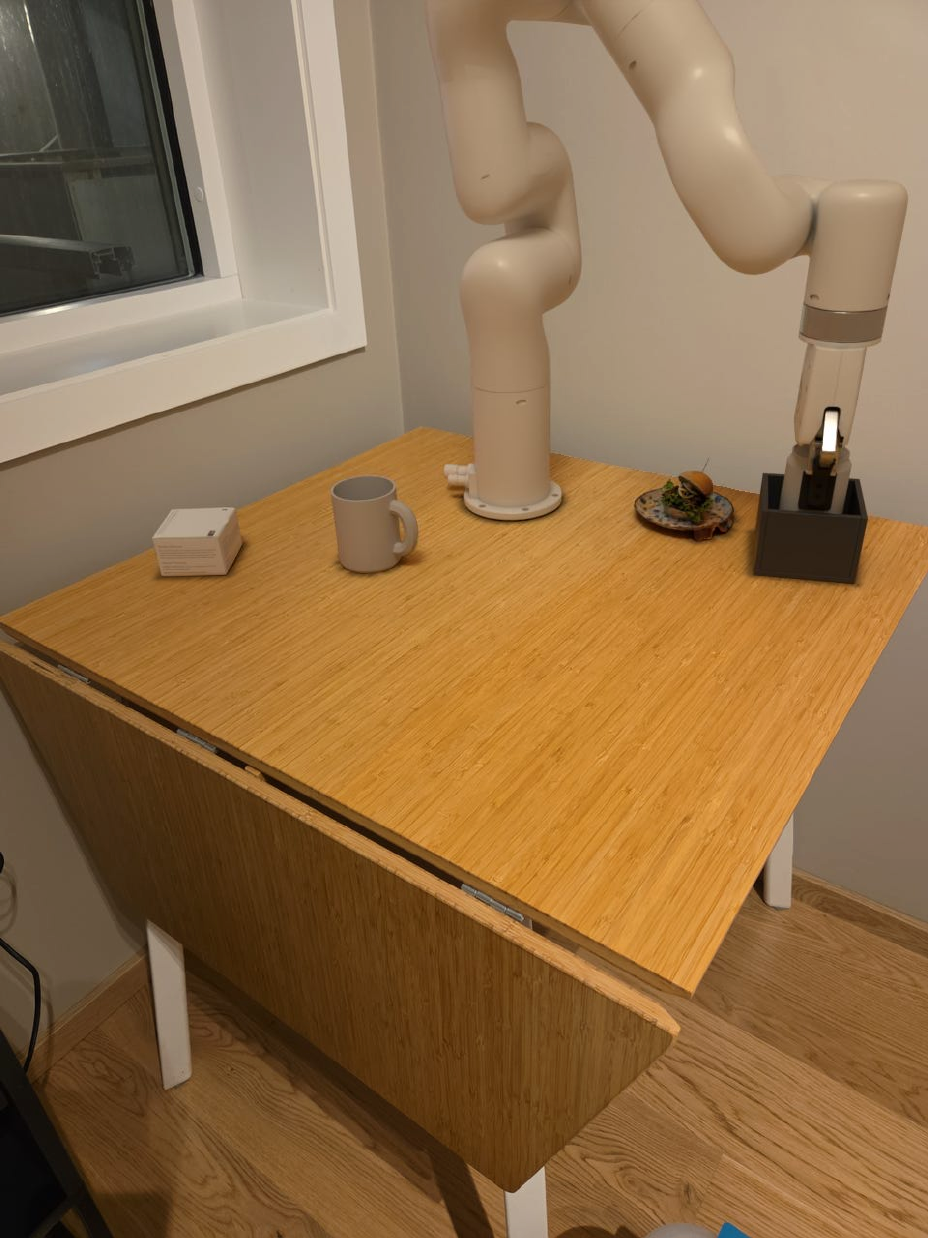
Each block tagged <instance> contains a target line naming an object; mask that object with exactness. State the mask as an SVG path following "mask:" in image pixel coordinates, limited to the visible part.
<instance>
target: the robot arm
mask: <svg viewBox="0 0 928 1238" xmlns="http://www.w3.org/2000/svg"><path fill="white" fill-rule="evenodd" d="M424 5H425V7H424V9H425V10H424V11H425V12H424V13H425V25H426V33H427V38H428V43H429V48H430V53H431V57H432V61H433V66H434V70H435V71H434V72H435V75H436V80H437V84H438V91H439V97H440V103H441V110H442V119H443V124H444V125H443V126H444V131H445V137H446V143H447V150H448V155H449V163H450V168H451V173H452V181H453V186H454V192H455V196H456V198H457V202H458V204H459V207H460V209H461V211H462V212H463V213H464V215H465V216H466V217H467V218H468V219H469V220H470V221H472V222H473V223H476V224H479V225H483V226H497V225H502V224H503V226H504V227H503V228H504V234H505V235H504V236H500V237H498V238H494V239H492V240H490V241H488V242H486V243H485V244H482V245H481V246H480V247H479V248H478V249H476V250H475V251H474V252H473V253H472V254H471V255H470V257H469V258H468V259H467V261H466V262H465V264H464V266H463V269H462V271H461V274H460V279H459V287H458V290H459V291H458V292H459V293H458V294H459V301H460V302H459V303H460V309H461V311H462V316H463V321H464V326H465V331H466V336H467V343H468V344H467V345H468V354H469V355H468V356H469V371H470V384H471V385H470V389H471V390H470V391H471V413H472V415H471V416H472V436H473V437H472V439H473V460H474V461H473V462H469V463H467V464H468V465H460V464H457V463H445V464H444V467H443V478H444V479H447V484H448V486H464V487H465V489H464V492H463V503H464V506H465V507H466V508H467V509H468V510H469V511H470V512H472V513H473V514H476V515H478V516H479V517H484V518H487V519H492V520H500V521H520V520H521V521H522V520H529V519H535V518H539V517H541V516H544V515H547V514H550V513H551V512H553V511H555V510H556V509H557V508H558V507H559V506H560V505H561V503H562V500H563V491H562V488H561V486H560V485H559V484H558V483H556V481H553V480H552V479H551V355H550V346H549V342H548V338H547V335H546V332H545V327H544V321H543V320H544V319H543V315H545V313H548V312H549V311H551V310H553V309H555V308H557V307H559V306H560V305H561V304H563V303H565V302H566V301H567V300H569V298H570V297H571V296H572V295H573V294H574V292H575V291H576V289H577V287H578V285H579V282H580V279H581V274H582V265H583V259H582V258H583V257H582V244H581V235H580V225H579V217H578V208H577V197H576V189H575V181H574V173H573V168H572V163H571V159H570V157H569V154H568V151H567V148H566V147H565V145H564V143H563V141H562V140H561V138H560V137H559V136H558V135H557V134H556V133H555V132H554V131H553V130H552V129H551V128H550V127H548V126H546V125H544V124H543V123H539V122H535V121H527V117H526V110H525V105H524V99H523V87H522V86H523V85H522V78H521V74H520V69H519V65H518V63H517V60H516V57H515V54H514V51H513V49H512V47H511V44H510V42H509V39H508V34H507V26H508V25H509V23H510V22H512V21H518V22H522V21H523V22H552V23H562V24H572V25H581V26H588V27H591V28H592V29H593V32H594V33H595V34H596V36H597V37H598V39H599V40H600V42H601V44H602V45H603V47H604V49H605V50H606V51H607V53H608V55H609V56H610V58H611V59H612V60H613V62H614V63H615V65H616V66H617V68H618V70H619V71H620V73H621V75H622V76H623V78H624V79H625V81H626V82H627V84H628V85H629V88H631V90H632V92H633V94H634V95H635V97H636V98H637V101H638V102H639V103H640V105H641V106H642V108H643V110H644V111H645V112H646V115H647V116H648V118H649V120H650V122H651V124H652V125H653V128H654V132H655V136H656V141H657V144H658V148H659V150H660V154H661V156H662V158H663V161H664V165H665V167H666V170H667V174H668V176H669V179H670V181H671V184H672V186H673V188H674V190H675V192H676V194H677V196H678V198H679V201H680V202H681V204H682V205H683V207H684V209H685V211H686V212H687V213H688V216H690V218H691V220H692V222H693V223H694V225H695V226H696V228H697V229H698V231H699V233H700V234H701V235H702V237H703V239H704V240H705V242H706V243H707V245H708V246H709V247H710V249H711V250H712V251H713V253H714V254H715V256H717V257H718V259H719V260H720V261H721V262H722V263H723V264H725V265H726V266H727V267H728V268H730V269H731V270H733V271H735V272H737V273H740V274H742V275H749V276H758V275H763V274H767V273H769V272H772V271H773V270H776V269H777V268H779V267H780V266H782V265H784V264H786V262H787V261H790V260H793V259H795V258H797V257H802V256H808V257H809V262H808V271H807V276H806V282H805V283H806V284H805V290H804V297H803V303H802V310H801V316H800V323H799V331H798V339H799V340H800V341H802V342H803V343H806V349H805V354H804V359H803V364H802V370H801V374H800V381H799V386H798V393H797V399H796V404H795V410H794V414H793V430H794V440H795V444H798V445H799V446H803V444H810V445H809V453H808V461H807V469H806V471H803V476H802V482H801V488H800V494H799V500H798V507H799V509H805V510H819V511H829V510H830V509H831V506H832V500H833V495H834V489H835V484H836V478H837V473H836V471H837V463H838V455H839V448H843V447H845V448H846V446H847V445H849V441H850V437H851V433H852V428H853V425H854V420H855V415H856V411H857V405H858V400H859V396H860V391H861V384H862V379H863V374H864V373H863V372H864V369H865V361H866V356H867V350H868V348H869V347H873V346H877V345H878V344H880V343H881V342H882V337H883V334H884V328H885V322H886V317H887V312H888V307H889V303H890V296H891V292H892V285H893V281H894V275H895V272H896V266H897V261H898V256H899V251H900V245H901V241H902V235H903V231H904V225H905V221H906V215H907V211H908V202H909V194H908V191H907V188H906V187H905V185H903V184H902V183H899V182H897V181H894V180H889V179H880V178H879V179H878V178H860V179H859V178H856V179H846V180H840V181H837V180H828V179H822V178H816V177H810V176H804V175H798V174H779V175H774V176H772V175H771V174H770V172H769V171H768V169H767V167H766V165H765V164H764V163H763V160H762V159H761V158H760V156H759V154H758V153H757V151H756V149H755V147H754V145H753V144H752V142H751V140H750V138H749V136H748V134H747V131H746V129H745V128H744V125H743V123H742V120H741V118H740V115H739V114H740V113H739V111H738V106H737V103H736V102H737V101H736V94H735V93H736V92H735V87H736V86H735V85H736V67H735V62H734V58H733V55H732V53H731V50H730V49H729V47H728V45H727V44H726V42H725V41H724V38H723V37H722V36H721V34H720V33H719V31H718V30H717V29H716V27H715V25H714V23H713V22H712V20H711V19H710V17H709V15H708V14H707V12H706V10H705V9H704V8H703V6H702V4H701V3H700V1H699V0H425V3H424ZM815 441H822V443H815ZM815 449H817V450H820V455H816V457H815ZM814 457H815V458H814Z"/></svg>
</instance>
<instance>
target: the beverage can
mask: <svg viewBox="0 0 928 1238" xmlns="http://www.w3.org/2000/svg"><path fill="white" fill-rule="evenodd" d="M815 443H822V441H815ZM809 445H810V444H803V446H799V445H798V444H797V443H795V444H794V445H793V446H792V449H791V452H790V454H789V455H788V456H787V458H786V463H785V469H784V473H783V474H784V481H783V487H782V493H781V500H780V506H779V510H790V511H804V512H818V513H831V514H842V511H843V506H844V501H845V496H846V491H847V486H848V481H849V478H850V475H851V472H852V465H853V464H852V461H851V459H850V456H851V451H850V450H849V448H847V447H846V446H845V447H843V448H839V455H838V463H837V471H836V473H837V478H836V484H835V489H834V495H833V500H832V506H831V509H830V510H829V511H819V510H805V509H799V507H798V500H799V494H800V488H801V482H802V476H803V471H806V469H807V461H808V453H809ZM816 455H820V450H817V449H815V457H816ZM815 457H814V458H815Z"/></svg>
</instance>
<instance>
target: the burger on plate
mask: <svg viewBox="0 0 928 1238" xmlns="http://www.w3.org/2000/svg"><path fill="white" fill-rule="evenodd" d="M709 459H710V458H707V461H706V463H705V464H704V467H703V468H702V471H701V470H687V471H683V472H681V473H680V474H678V476H677V478H678V482H680V483H679V485H677V484H676V485H675V483H674V482H673V481H671V480H672V479H671V478H668V480H666V484H664V485H663V486H662V487H660V488H655V489H651V490H649V491H646V492H644V493H642V494H640V495H639V496H638V497H637V498H636V499H635V500H634V504H633V507H634V509H635V511H636V512H637V513H639V514H640V515H641V516H642V518H643V519H645V520H647V521H648V522H650V523H653V524H655V525H657V526H661V527H662V528H666V529H670V530H677V531H678V530H679V531H687V532H689V531H693V533H694V534H693V535H694V540H695V541H696V542H701V541H702V540H710V539H712V538H713V533H714V531H715V530H716V528H718V529H719V530H720V531H721V532H722V533H725V532H728V529H731V527H732V524H733V523H734V519H735V515H734V513H735V507H734V505H733V503H732V502H731V500H730V499H729V498H728V497H725V496H723V495H722V494H721V493H718V492H715V491H714V483H713V481H712V479H711V478H710V476H709V475H708V474H706V473H705V472H704V471H705V467H707V465H708V462H709V461H710V460H709Z"/></svg>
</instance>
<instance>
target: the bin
mask: <svg viewBox="0 0 928 1238" xmlns="http://www.w3.org/2000/svg"><path fill="white" fill-rule="evenodd" d="M784 474H785V473H773V472H762V475H761V483H760V490H759V496H758V503H757V504H758V505H757V511H756V512H757V513H756V519H755V525H754V532H753V533H754V534H753V566H752V567H753V569H752V570H753V571H752V574H753V576H763V577H774V578H785V579H796V580H797V579H798V580H809V581H818V582H819V581H820V582H829V583H830V582H831V583H842V584H850V585H851V584H852V585H855V582H856V578H857V574H858V570H859V564H860V558H861V554H862V550H863V545H864V541H865V536H866V531H867V526H868V522H869V516H868V511H867V507H866V502H865V498H864V493H863V487H862V483H861V479H860V478H853V477H849V481H848V486H847V491H846V496H845V501H844V506H843V511H842V514H831V513H818V512H804V511H790V510H779V506H780V500H781V493H782V487H783V481H784Z"/></svg>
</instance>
